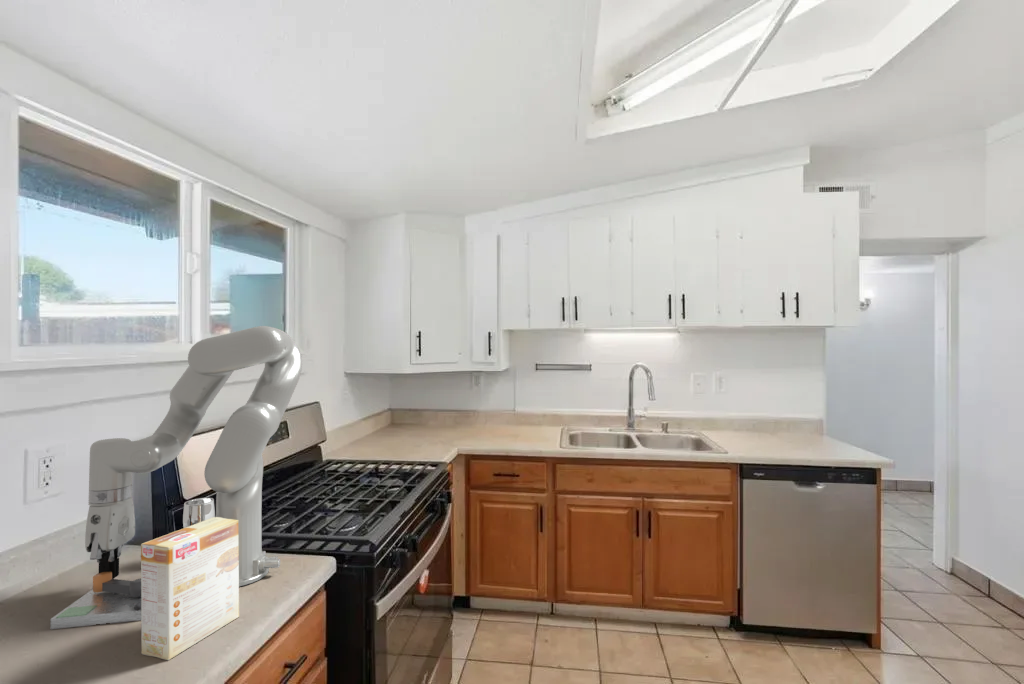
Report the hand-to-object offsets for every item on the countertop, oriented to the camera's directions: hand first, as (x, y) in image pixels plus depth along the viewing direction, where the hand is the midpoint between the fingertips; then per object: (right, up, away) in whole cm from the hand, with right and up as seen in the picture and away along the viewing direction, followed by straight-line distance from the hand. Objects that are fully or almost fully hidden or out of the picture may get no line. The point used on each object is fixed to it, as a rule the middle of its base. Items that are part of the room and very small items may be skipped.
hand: (108, 577), depth 110 cm
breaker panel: (+7, -3, -6) cm, 10 cm away
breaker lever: (+6, -1, -4) cm, 8 cm away
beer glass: (+9, -4, +17) cm, 20 cm away
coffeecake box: (+30, -3, -17) cm, 34 cm away
